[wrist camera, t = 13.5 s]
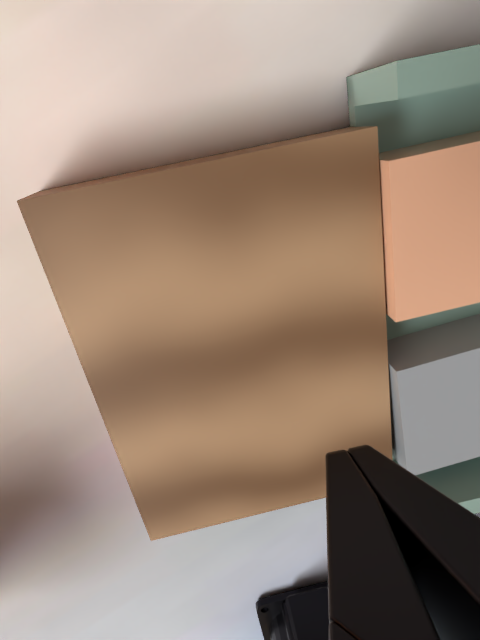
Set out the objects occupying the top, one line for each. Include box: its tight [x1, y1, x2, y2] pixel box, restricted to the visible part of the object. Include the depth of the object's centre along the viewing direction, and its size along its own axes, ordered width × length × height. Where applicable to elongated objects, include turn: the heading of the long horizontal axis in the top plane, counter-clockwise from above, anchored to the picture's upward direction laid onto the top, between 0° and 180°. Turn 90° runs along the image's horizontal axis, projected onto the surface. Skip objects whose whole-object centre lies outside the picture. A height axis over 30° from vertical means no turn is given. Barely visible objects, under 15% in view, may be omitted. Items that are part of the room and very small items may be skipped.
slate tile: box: [387, 314, 480, 475], centre depth 20 cm, size 6×6×2 cm
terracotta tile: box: [379, 131, 480, 322], centre depth 17 cm, size 6×6×2 cm
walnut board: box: [17, 126, 393, 541], centre depth 18 cm, size 16×12×2 cm
